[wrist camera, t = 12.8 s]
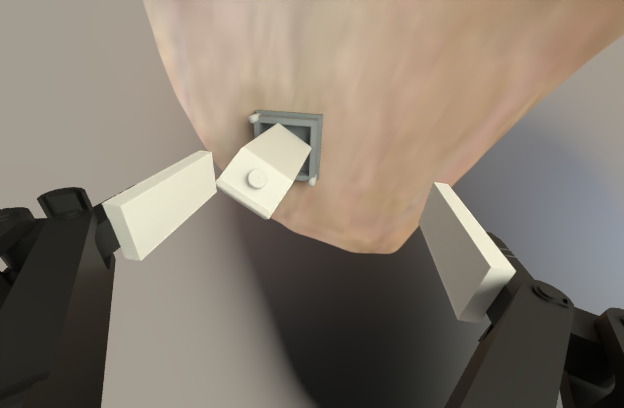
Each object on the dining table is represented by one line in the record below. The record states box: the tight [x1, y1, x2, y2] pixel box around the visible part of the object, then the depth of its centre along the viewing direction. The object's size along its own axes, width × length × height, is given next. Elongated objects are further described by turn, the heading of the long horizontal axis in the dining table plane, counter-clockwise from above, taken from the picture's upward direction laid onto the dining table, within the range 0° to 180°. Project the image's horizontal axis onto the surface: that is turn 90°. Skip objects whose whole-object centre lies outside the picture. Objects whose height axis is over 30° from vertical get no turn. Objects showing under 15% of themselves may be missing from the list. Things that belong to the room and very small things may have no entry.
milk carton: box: [215, 123, 312, 220], centre depth 35 cm, size 7×7×19 cm
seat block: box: [248, 110, 323, 187], centre depth 44 cm, size 12×12×5 cm
